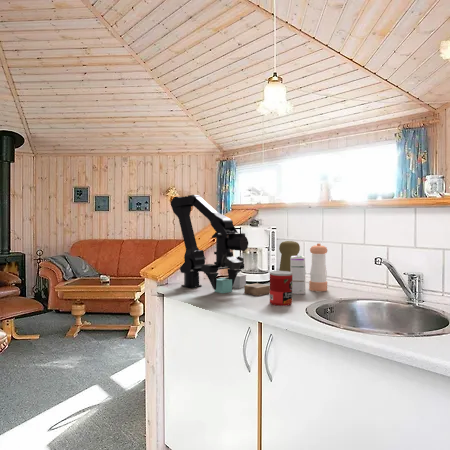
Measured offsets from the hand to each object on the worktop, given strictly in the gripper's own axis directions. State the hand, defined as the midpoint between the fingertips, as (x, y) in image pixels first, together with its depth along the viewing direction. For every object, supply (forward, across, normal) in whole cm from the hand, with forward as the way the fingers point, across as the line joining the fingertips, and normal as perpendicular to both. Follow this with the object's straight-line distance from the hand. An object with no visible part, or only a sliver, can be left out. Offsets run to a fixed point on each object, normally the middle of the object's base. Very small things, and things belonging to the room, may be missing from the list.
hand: (223, 288), depth 163 cm
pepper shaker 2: (+2, +32, -23) cm, 39 cm away
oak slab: (+1, +8, -11) cm, 14 cm away
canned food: (+2, +1, -29) cm, 29 cm away
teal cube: (+2, 0, 0) cm, 2 cm away
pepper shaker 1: (+2, +33, -7) cm, 34 cm away
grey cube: (+2, +12, +4) cm, 13 cm away
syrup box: (+2, +21, -21) cm, 30 cm away
